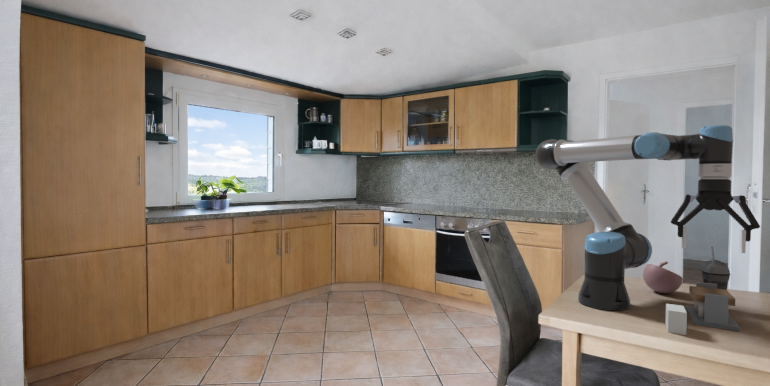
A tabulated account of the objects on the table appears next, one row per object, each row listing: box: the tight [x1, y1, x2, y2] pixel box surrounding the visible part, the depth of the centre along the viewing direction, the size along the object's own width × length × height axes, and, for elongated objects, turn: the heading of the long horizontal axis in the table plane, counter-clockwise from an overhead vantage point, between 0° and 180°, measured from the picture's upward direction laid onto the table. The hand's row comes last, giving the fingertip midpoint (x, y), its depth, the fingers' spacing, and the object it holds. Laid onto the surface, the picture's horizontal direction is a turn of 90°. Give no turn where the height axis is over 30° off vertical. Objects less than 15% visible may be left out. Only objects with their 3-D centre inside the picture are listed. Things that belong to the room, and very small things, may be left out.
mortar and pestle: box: [642, 261, 684, 294], centre depth 146 cm, size 12×12×11 cm
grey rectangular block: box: [664, 303, 688, 336], centre depth 110 cm, size 4×7×6 cm, turn 149°
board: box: [689, 285, 736, 307], centre depth 119 cm, size 9×11×2 cm
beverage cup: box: [700, 245, 731, 291], centre depth 128 cm, size 7×7×20 cm
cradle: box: [685, 281, 741, 332], centre depth 119 cm, size 10×17×9 cm, turn 149°
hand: (712, 250), depth 118 cm, fingers open, 13 cm apart
